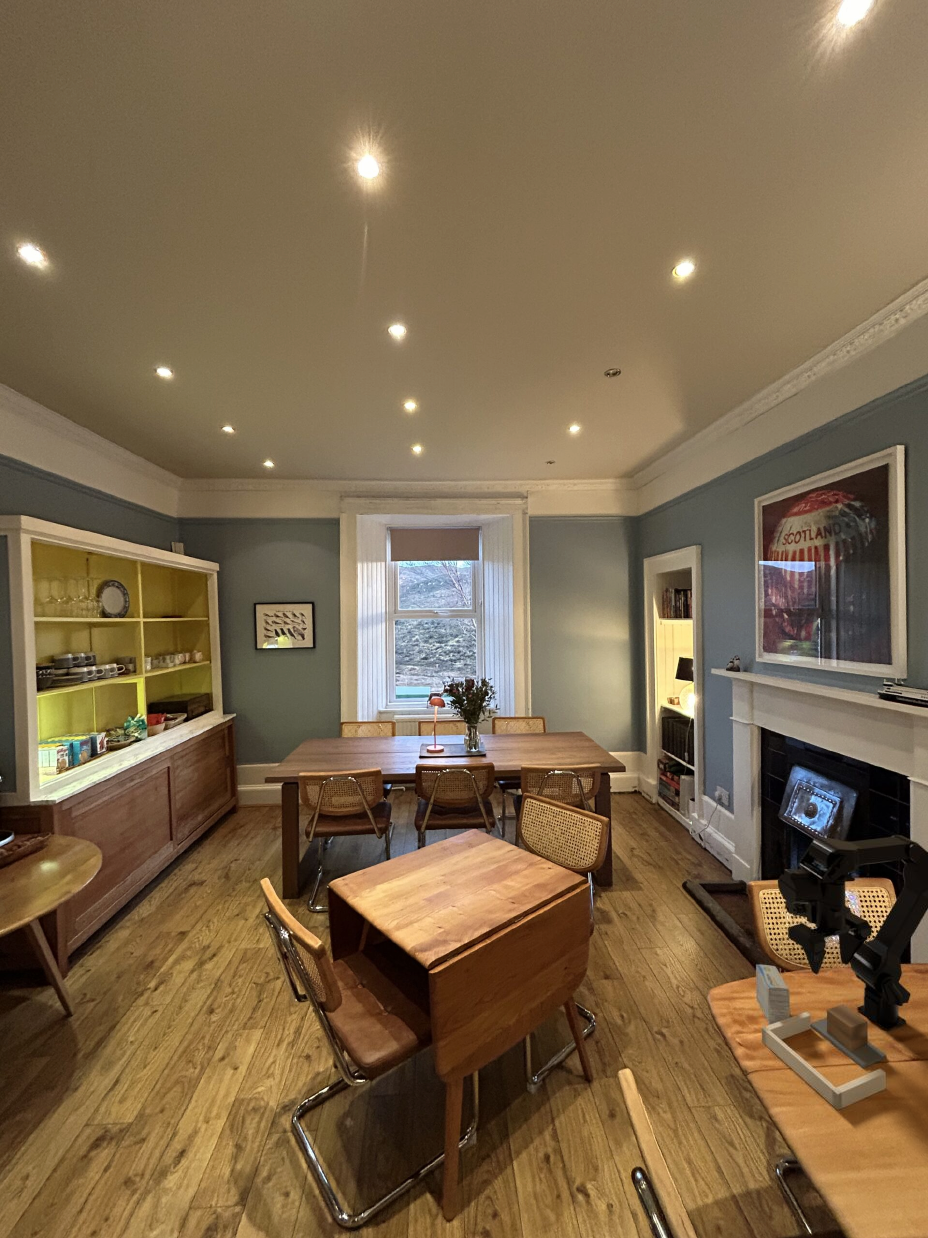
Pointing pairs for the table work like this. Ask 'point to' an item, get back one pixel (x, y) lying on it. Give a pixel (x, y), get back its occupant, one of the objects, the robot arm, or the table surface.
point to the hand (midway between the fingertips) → (829, 968)
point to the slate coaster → (860, 1055)
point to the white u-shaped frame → (833, 1095)
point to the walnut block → (847, 1027)
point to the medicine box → (772, 994)
